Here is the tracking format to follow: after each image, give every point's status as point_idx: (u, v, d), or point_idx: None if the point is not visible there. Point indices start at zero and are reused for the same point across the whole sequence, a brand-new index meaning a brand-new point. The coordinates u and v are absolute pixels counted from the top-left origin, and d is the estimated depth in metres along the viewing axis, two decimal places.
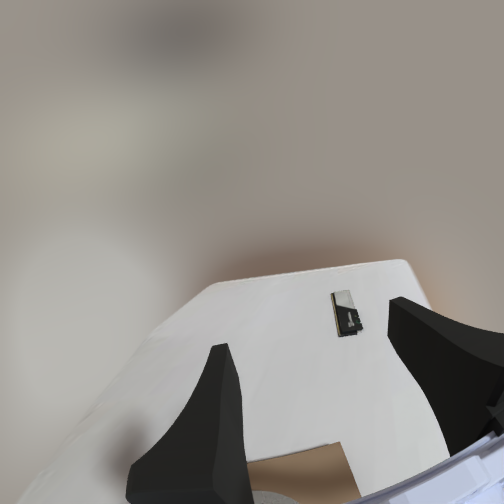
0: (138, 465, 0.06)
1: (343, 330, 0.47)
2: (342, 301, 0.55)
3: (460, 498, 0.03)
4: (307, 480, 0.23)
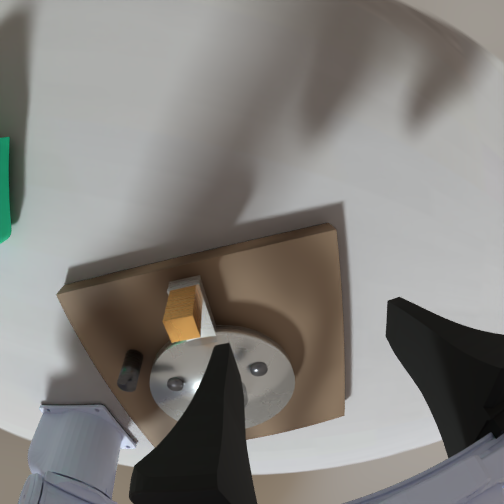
0: (142, 465, 0.06)
1: None
2: None
3: (460, 498, 0.03)
4: (305, 402, 0.25)
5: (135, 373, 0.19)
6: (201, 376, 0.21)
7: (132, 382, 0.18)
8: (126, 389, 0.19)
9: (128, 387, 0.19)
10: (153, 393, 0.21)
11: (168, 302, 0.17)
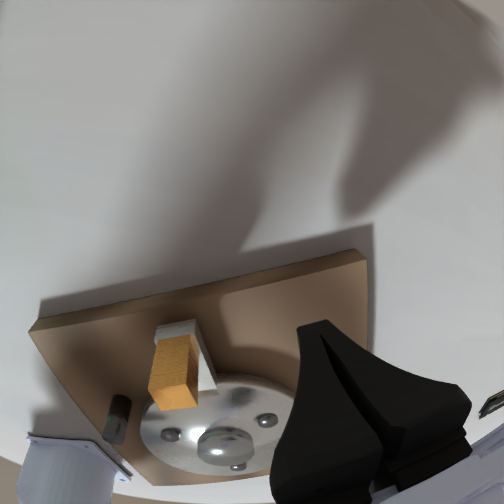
0: (286, 448, 0.06)
1: (491, 403, 0.27)
2: None
3: (460, 498, 0.03)
4: None
5: (123, 425, 0.15)
6: (200, 428, 0.16)
7: (120, 436, 0.14)
8: (114, 442, 0.14)
9: (115, 440, 0.14)
10: (145, 442, 0.17)
11: (155, 359, 0.12)
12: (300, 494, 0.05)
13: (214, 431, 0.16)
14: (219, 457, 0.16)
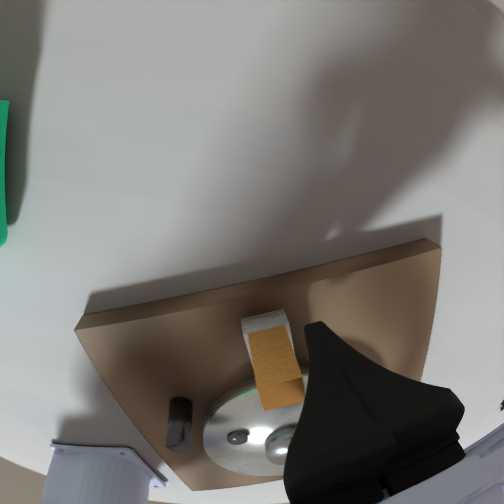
0: (300, 445, 0.06)
1: None
2: None
3: (460, 498, 0.03)
4: None
5: (189, 430, 0.14)
6: (271, 426, 0.16)
7: (188, 443, 0.13)
8: (178, 450, 0.14)
9: (180, 448, 0.14)
10: (206, 447, 0.16)
11: (253, 354, 0.12)
12: (313, 491, 0.05)
13: (286, 428, 0.16)
14: None
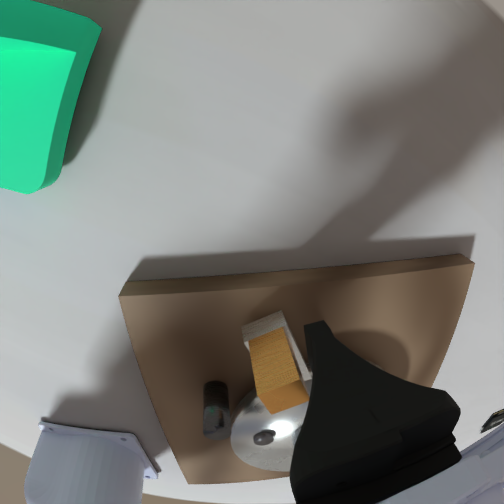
0: (306, 443, 0.06)
1: (493, 419, 0.28)
2: None
3: (460, 498, 0.03)
4: None
5: (228, 416, 0.14)
6: (294, 423, 0.16)
7: (229, 429, 0.13)
8: (215, 437, 0.13)
9: (218, 435, 0.13)
10: (236, 451, 0.16)
11: (253, 361, 0.12)
12: (320, 489, 0.05)
13: None
14: None
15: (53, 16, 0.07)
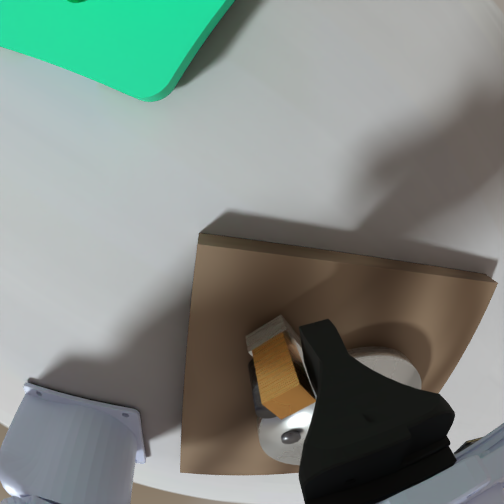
0: (316, 441, 0.06)
1: (466, 446, 0.30)
2: None
3: (460, 498, 0.03)
4: None
5: None
6: None
7: None
8: (265, 414, 0.13)
9: (270, 412, 0.13)
10: (268, 452, 0.17)
11: (257, 370, 0.12)
12: (329, 487, 0.05)
13: None
14: None
15: None
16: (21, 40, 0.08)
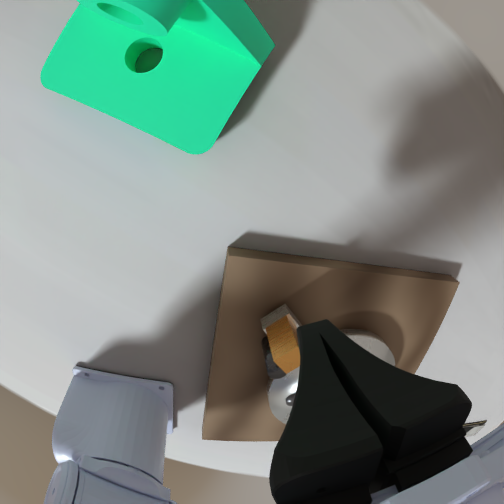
0: (286, 448, 0.06)
1: None
2: (472, 430, 0.39)
3: (460, 498, 0.03)
4: None
5: None
6: None
7: None
8: (274, 375, 0.19)
9: (278, 374, 0.19)
10: (275, 414, 0.23)
11: (269, 340, 0.18)
12: (300, 494, 0.05)
13: None
14: None
15: (261, 35, 0.12)
16: (92, 97, 0.14)
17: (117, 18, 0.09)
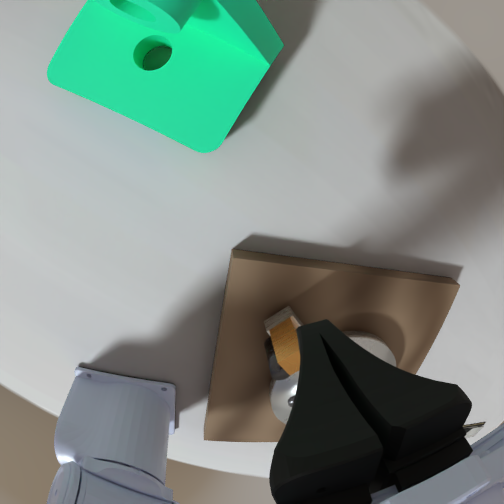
0: (286, 448, 0.06)
1: None
2: (471, 431, 0.39)
3: (460, 498, 0.03)
4: None
5: None
6: None
7: None
8: (277, 377, 0.19)
9: (281, 375, 0.19)
10: (277, 415, 0.23)
11: (273, 342, 0.18)
12: (300, 494, 0.05)
13: None
14: None
15: (270, 35, 0.12)
16: (99, 94, 0.14)
17: (129, 14, 0.09)
